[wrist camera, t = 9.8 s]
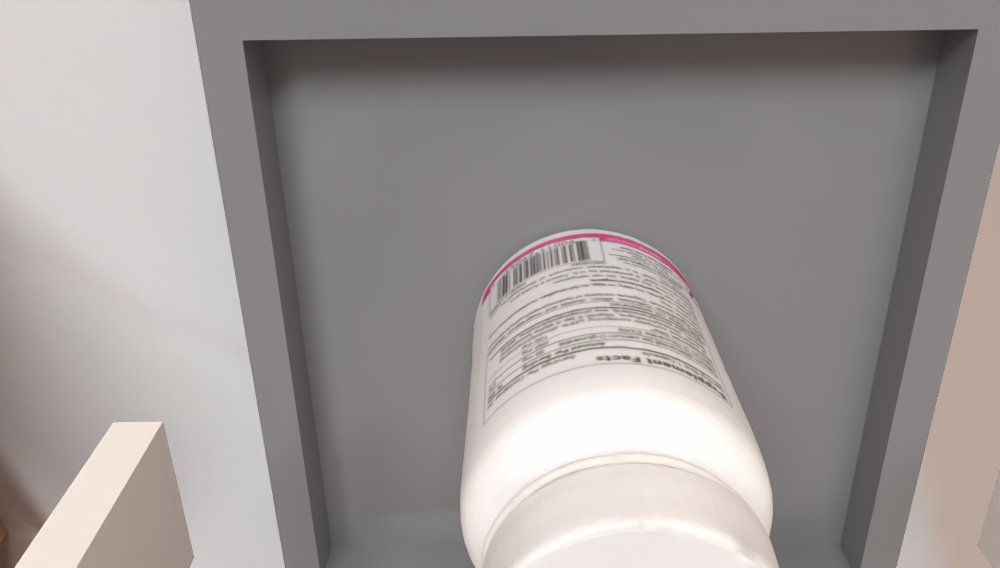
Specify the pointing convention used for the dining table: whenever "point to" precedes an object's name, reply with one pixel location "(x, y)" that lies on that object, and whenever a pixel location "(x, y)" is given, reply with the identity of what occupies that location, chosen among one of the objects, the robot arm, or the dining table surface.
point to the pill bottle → (605, 419)
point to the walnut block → (2, 531)
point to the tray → (604, 206)
